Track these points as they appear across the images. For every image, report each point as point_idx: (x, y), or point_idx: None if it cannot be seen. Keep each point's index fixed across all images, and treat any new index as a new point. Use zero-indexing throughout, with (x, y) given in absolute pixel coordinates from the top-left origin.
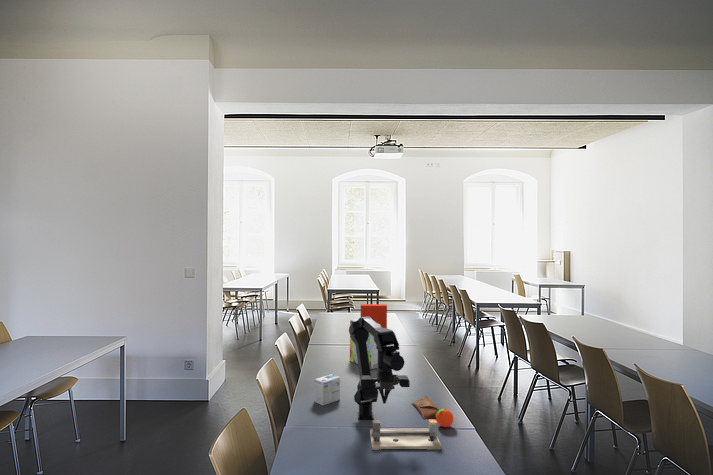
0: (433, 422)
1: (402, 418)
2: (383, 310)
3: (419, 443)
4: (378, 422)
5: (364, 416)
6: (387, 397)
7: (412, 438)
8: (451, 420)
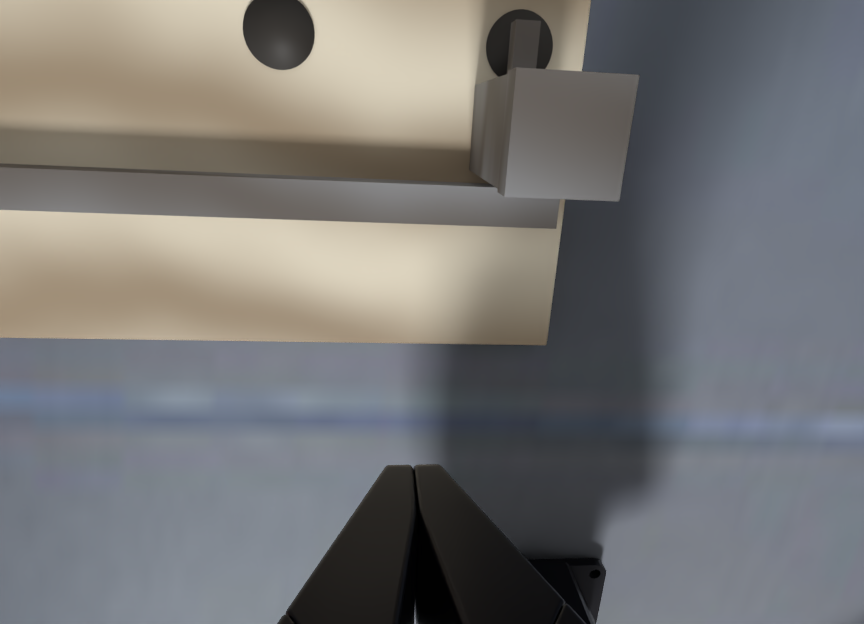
0: None
1: (176, 582)
2: None
3: None
4: (539, 106)
5: (556, 574)
6: (317, 566)
7: (50, 70)
8: None
